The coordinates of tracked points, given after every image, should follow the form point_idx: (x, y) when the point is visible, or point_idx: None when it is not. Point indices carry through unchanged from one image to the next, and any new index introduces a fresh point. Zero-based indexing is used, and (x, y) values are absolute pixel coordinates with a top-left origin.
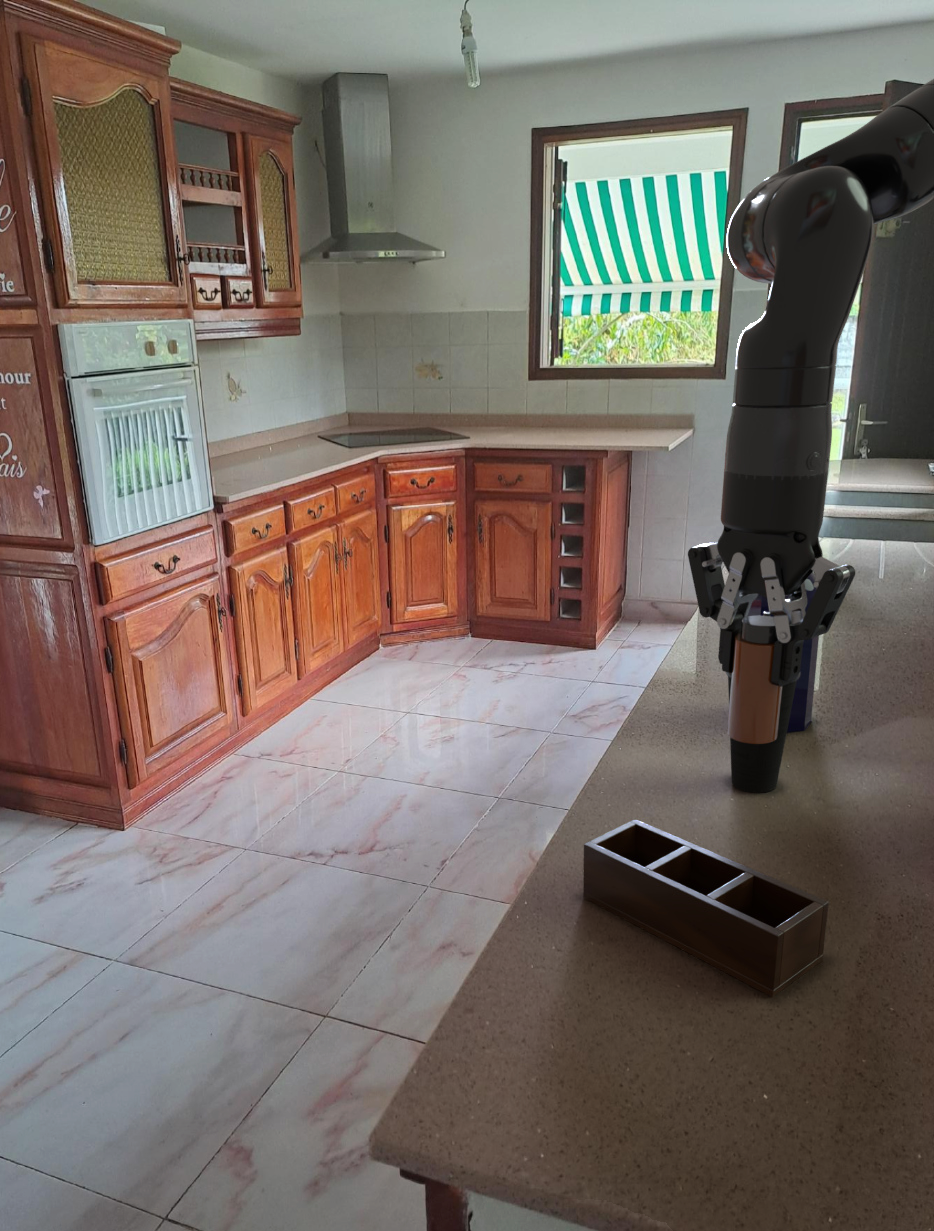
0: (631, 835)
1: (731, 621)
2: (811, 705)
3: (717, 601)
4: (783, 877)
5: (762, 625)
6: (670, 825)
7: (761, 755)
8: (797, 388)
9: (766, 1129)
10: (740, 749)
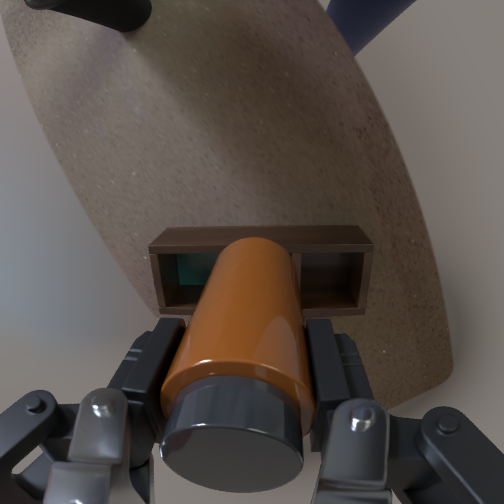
0: (161, 256)
1: (150, 463)
2: None
3: (52, 453)
4: (263, 132)
5: (264, 487)
6: (130, 136)
7: (128, 10)
8: None
9: (392, 364)
10: (106, 22)
